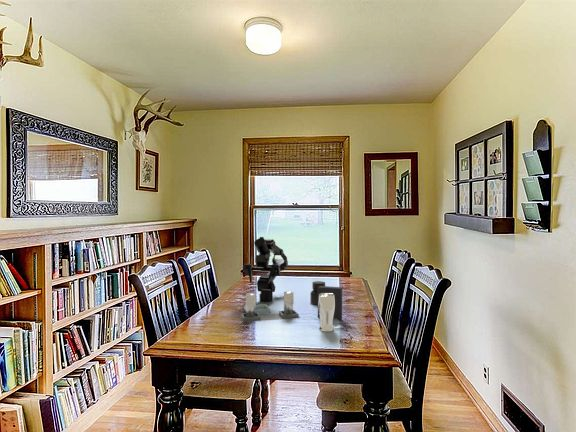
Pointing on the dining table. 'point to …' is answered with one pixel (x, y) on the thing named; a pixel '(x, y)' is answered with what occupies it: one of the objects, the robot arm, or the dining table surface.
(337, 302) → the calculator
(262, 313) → the tote
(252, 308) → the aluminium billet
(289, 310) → the billet
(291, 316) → the tray
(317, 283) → the ink bottle
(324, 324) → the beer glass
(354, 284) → the dining table surface
